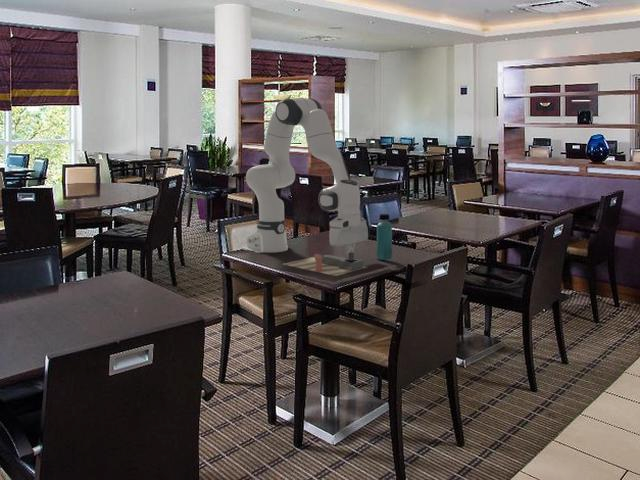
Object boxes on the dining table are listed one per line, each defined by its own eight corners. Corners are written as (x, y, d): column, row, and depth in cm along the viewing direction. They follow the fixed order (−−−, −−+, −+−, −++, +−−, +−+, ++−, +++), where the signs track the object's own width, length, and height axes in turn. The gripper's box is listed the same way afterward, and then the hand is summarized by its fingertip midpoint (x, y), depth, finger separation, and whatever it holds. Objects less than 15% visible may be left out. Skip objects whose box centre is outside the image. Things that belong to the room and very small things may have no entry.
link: (318, 263, 263) (318, 256, 263) (329, 261, 268) (329, 253, 268) (352, 270, 251) (352, 263, 251) (363, 267, 256) (363, 260, 256)
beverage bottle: (391, 263, 267) (392, 215, 264) (375, 263, 269) (375, 215, 265) (392, 260, 274) (393, 213, 270) (377, 259, 275) (377, 212, 271)
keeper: (314, 267, 258) (314, 254, 257) (320, 266, 258) (320, 254, 257) (316, 271, 251) (316, 258, 250) (322, 271, 251) (322, 258, 250)
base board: (282, 266, 263) (282, 264, 263) (314, 258, 277) (314, 256, 277) (335, 278, 244) (335, 275, 244) (367, 269, 257) (367, 267, 257)
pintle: (347, 268, 256) (347, 253, 255) (350, 267, 257) (350, 252, 256) (351, 268, 255) (351, 253, 253) (354, 267, 256) (354, 253, 255)
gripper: (359, 216, 271) (360, 249, 274) (326, 222, 257) (327, 257, 259) (371, 218, 267) (371, 251, 270) (338, 224, 253) (338, 259, 255)
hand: (349, 254), depth 264 cm, fingers closed
